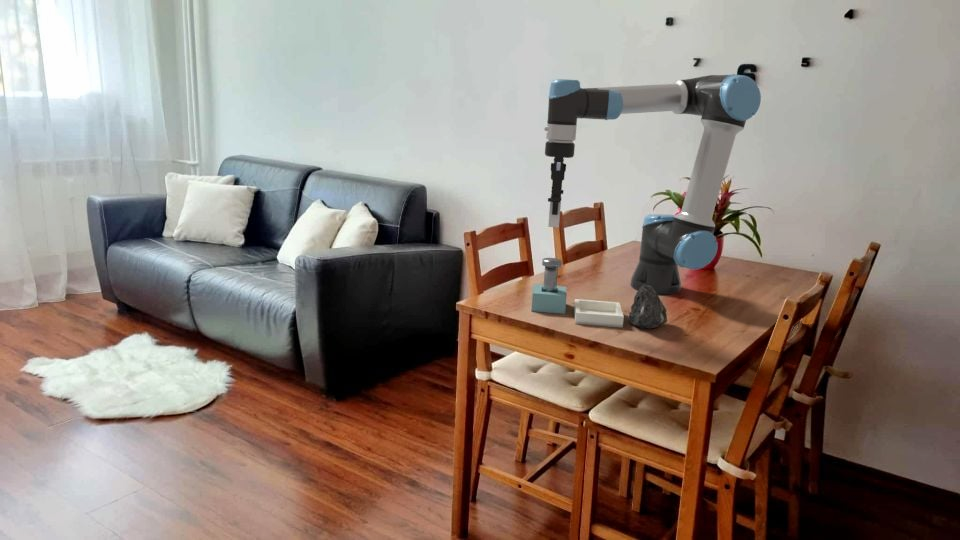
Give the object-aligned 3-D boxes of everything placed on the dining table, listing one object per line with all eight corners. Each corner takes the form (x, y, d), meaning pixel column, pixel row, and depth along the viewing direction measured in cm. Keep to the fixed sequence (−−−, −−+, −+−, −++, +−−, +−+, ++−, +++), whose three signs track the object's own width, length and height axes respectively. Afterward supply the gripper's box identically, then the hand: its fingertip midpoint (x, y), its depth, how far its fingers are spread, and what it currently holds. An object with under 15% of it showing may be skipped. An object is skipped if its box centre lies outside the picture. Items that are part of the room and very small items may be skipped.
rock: (622, 305, 181) (639, 277, 176) (654, 316, 183) (672, 288, 177) (628, 335, 171) (647, 307, 166) (662, 346, 173) (681, 318, 167)
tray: (618, 313, 184) (619, 302, 183) (622, 327, 172) (623, 316, 171) (573, 309, 185) (574, 298, 184) (575, 323, 173) (576, 312, 172)
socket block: (564, 303, 189) (566, 286, 188) (565, 313, 180) (566, 295, 179) (532, 301, 190) (533, 284, 189) (531, 311, 181) (532, 293, 180)
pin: (557, 305, 187) (561, 258, 184) (557, 311, 182) (561, 263, 179) (539, 303, 188) (542, 257, 184) (538, 309, 183) (542, 261, 179)
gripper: (546, 137, 186) (541, 213, 192) (544, 143, 162) (538, 230, 168) (574, 139, 186) (567, 215, 191) (575, 145, 162) (568, 232, 167)
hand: (553, 222), depth 179 cm, fingers open, 13 cm apart
